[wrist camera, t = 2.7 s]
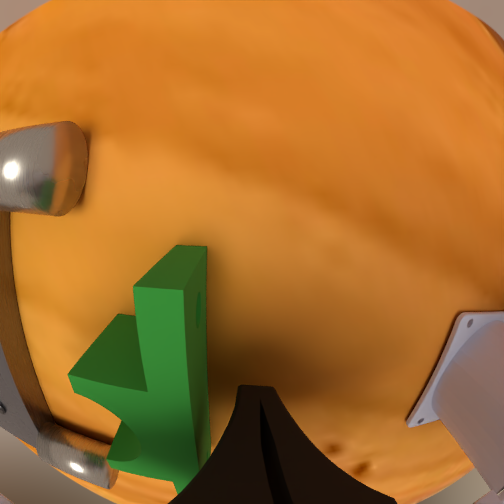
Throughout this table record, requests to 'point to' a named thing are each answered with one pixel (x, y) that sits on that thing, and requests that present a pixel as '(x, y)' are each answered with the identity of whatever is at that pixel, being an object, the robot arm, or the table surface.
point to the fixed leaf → (4, 297)
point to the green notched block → (156, 372)
